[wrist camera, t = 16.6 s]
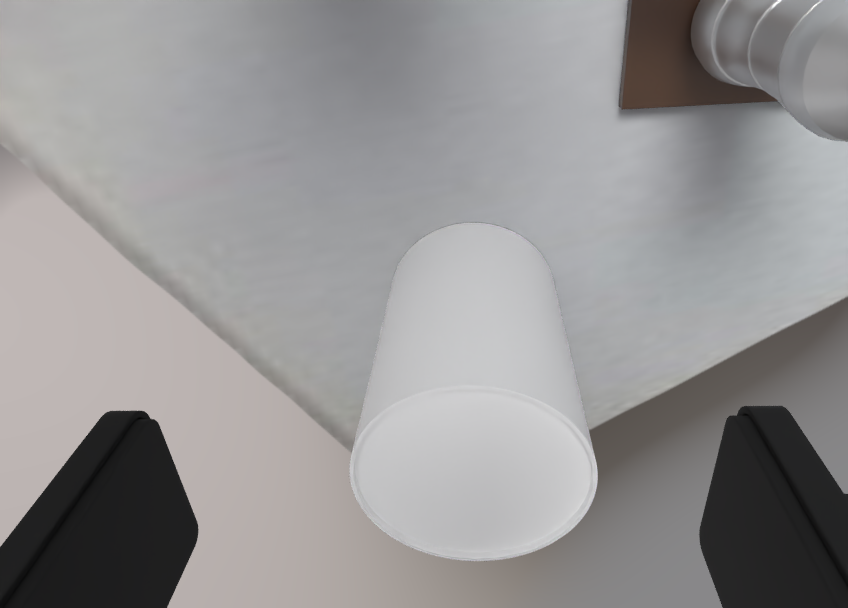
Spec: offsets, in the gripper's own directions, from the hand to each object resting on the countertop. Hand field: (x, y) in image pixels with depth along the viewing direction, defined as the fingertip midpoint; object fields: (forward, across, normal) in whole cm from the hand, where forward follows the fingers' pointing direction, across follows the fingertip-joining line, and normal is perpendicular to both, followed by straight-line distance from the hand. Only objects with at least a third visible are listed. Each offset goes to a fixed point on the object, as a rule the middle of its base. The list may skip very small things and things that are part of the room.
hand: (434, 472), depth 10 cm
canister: (+36, 0, +18) cm, 41 cm away
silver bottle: (+36, -17, -2) cm, 39 cm away
